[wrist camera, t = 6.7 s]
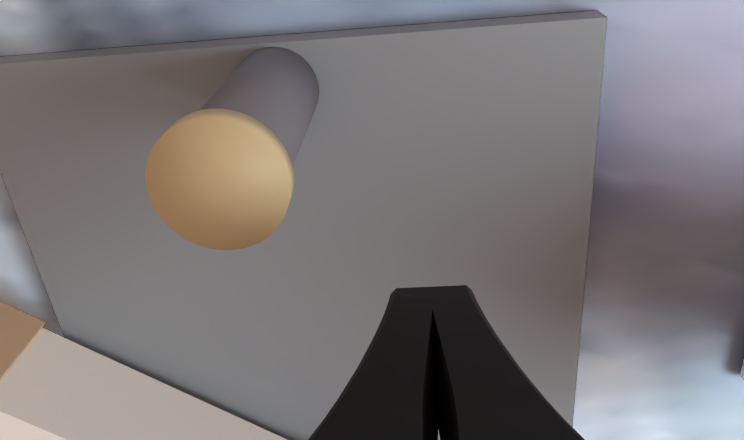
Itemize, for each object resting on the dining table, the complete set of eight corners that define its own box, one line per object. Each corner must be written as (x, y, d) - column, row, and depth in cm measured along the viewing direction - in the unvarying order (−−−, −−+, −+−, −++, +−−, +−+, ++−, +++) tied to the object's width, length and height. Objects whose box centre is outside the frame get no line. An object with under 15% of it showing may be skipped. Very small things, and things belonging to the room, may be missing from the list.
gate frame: (597, 6, 18) (713, 84, 11) (560, 483, 26) (611, 685, 20) (-22, 54, 19) (-250, 149, 12) (141, 491, 28) (59, 681, 21)
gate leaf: (310, 443, 24) (296, 529, 21) (288, 471, 25) (271, 557, 22) (-1, 301, 22) (-70, 374, 18) (-14, 336, 22) (-84, 412, 19)
